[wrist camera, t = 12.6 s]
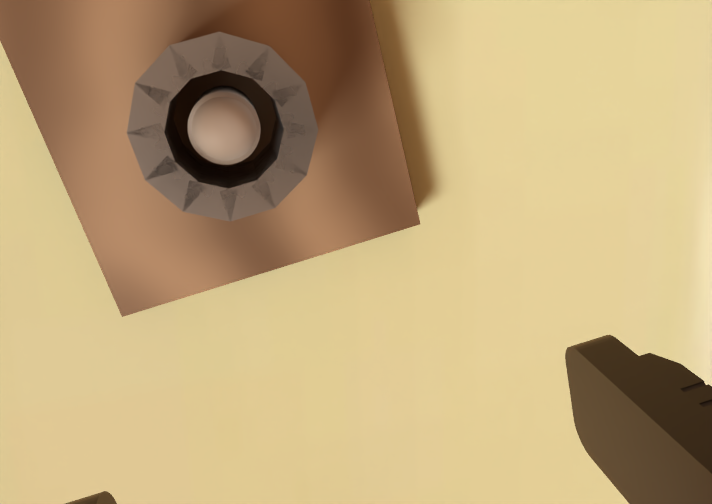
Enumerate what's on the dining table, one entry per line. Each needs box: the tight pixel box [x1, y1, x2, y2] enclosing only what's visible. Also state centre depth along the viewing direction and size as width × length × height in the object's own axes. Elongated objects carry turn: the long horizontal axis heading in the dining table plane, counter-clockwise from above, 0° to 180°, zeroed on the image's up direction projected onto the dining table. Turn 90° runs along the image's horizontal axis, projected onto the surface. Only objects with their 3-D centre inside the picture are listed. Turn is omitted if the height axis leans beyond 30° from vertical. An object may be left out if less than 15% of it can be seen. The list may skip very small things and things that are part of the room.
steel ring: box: [127, 32, 318, 222], centre depth 24 cm, size 6×6×4 cm
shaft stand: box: [0, 0, 420, 317], centre depth 25 cm, size 14×14×6 cm
